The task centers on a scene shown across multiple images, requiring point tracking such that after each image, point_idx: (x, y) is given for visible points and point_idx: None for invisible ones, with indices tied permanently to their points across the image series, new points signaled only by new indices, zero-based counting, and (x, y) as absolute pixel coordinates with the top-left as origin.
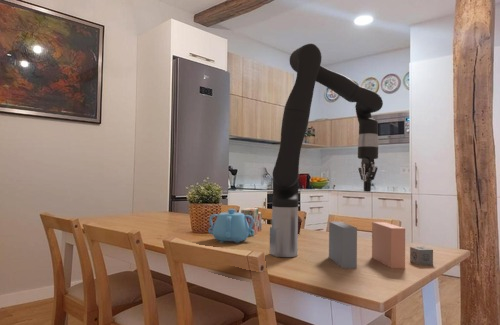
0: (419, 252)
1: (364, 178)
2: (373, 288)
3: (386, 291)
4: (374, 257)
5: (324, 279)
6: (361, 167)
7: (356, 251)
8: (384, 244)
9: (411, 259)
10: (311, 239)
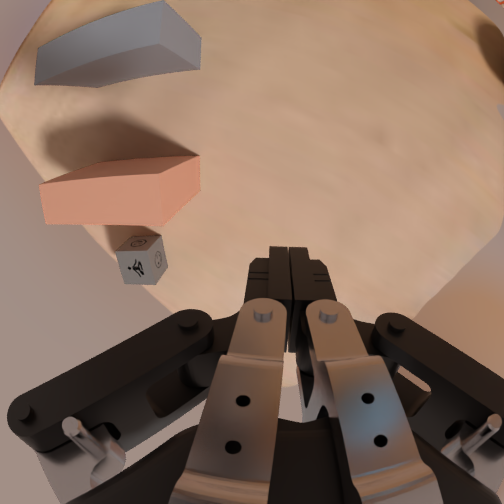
0: (118, 249)
1: (310, 333)
2: (17, 101)
3: (10, 117)
4: (181, 156)
5: (49, 34)
6: (400, 483)
7: (74, 85)
8: (100, 168)
9: (153, 237)
10: (462, 92)
